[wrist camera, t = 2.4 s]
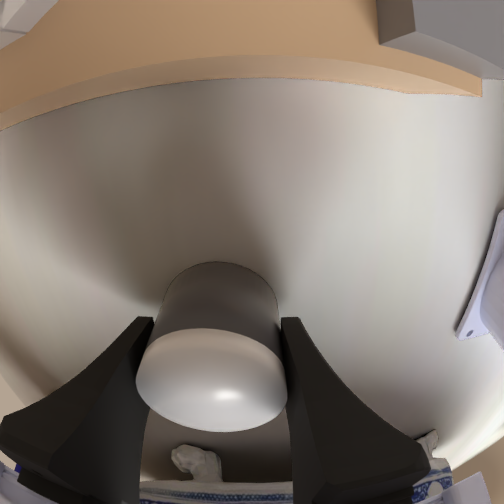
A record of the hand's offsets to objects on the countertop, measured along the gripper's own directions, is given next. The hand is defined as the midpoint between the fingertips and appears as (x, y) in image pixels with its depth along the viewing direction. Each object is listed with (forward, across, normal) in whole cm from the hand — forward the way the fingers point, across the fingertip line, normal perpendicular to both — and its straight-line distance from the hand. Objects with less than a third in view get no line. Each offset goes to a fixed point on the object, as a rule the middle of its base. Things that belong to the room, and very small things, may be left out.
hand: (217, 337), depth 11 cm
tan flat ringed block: (+2, +2, -15) cm, 15 cm away
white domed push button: (+2, 0, 0) cm, 2 cm away
